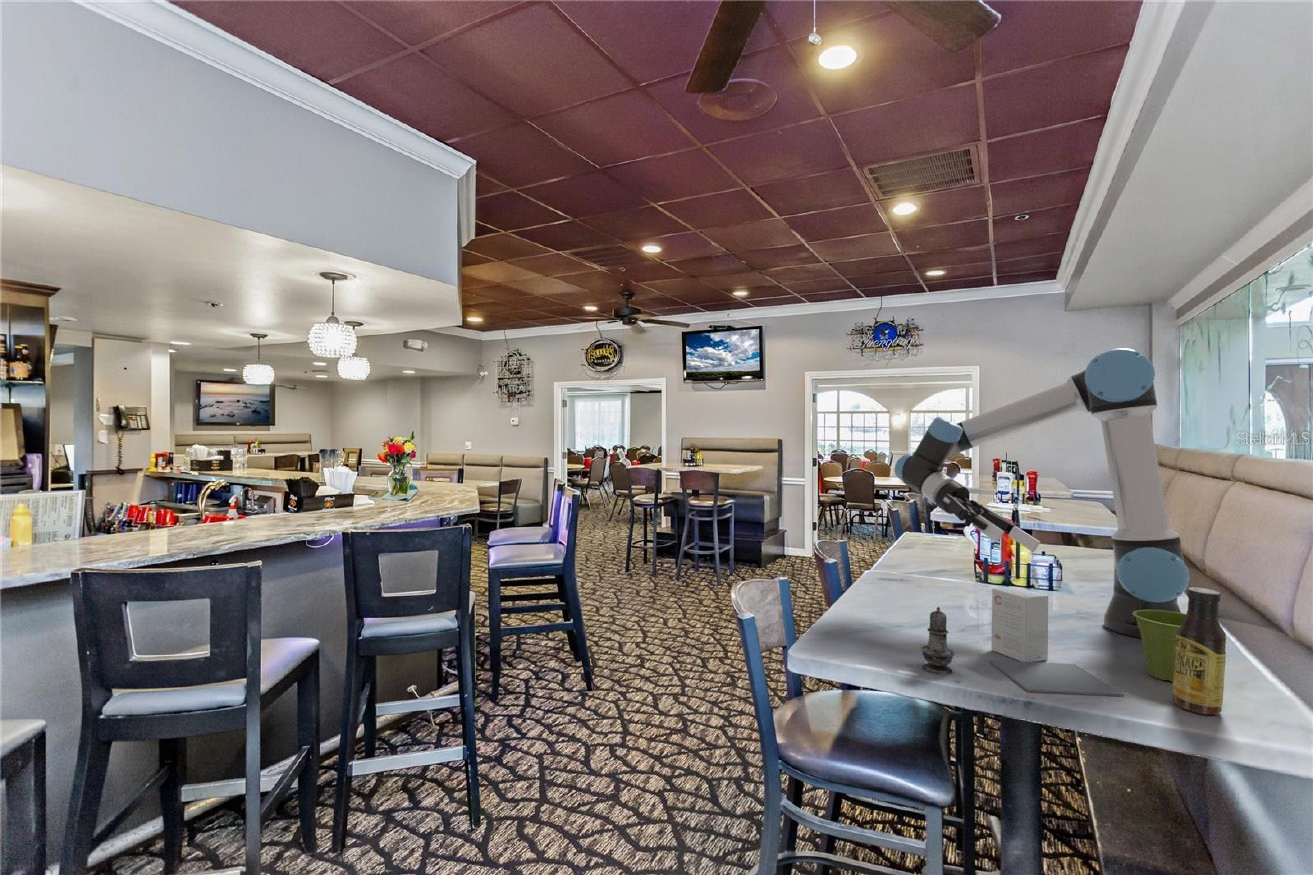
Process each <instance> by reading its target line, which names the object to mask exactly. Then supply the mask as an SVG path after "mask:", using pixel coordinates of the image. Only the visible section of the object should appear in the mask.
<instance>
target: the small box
mask: <svg viewBox="0 0 1313 875" xmlns="http://www.w3.org/2000/svg"><path fill="white" fill-rule="evenodd" d="M991 595H992V596H991V598H992V599H991V645H990V646H991V651H994V652H995V653H999V654H1001V655H1003V656H1006V657H1009V658H1011V659H1014V660H1017V661H1018V662H1042V661H1047V660H1048V659H1049V657H1048V656H1049V653H1048V652H1049V595H1048V594H1047V595H1046V594H1042V593H1038V592H1034V591H1032V590H1027V589H1024V588H1020V587H1016V586H1007V587H995V588H992V594H991Z"/></svg>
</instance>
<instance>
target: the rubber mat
mask: <svg viewBox="0 0 1313 875" xmlns="http://www.w3.org/2000/svg"><path fill="white" fill-rule="evenodd" d="M989 663H990V664H992V666H994V667H996V668H997V669H998V670H999V671H1000V672H1001V673H1003V674H1004V675H1005V676H1006V677H1008V678H1009V679H1010V680H1012V681H1013V682H1015V683H1016V684H1017V685H1018V686H1020V688H1022V689H1023V690H1024V691H1026V692H1027V693H1042V694H1044V693H1045V694H1047V693H1048V694H1065V695H1067V694H1068V695H1086V696H1087V695H1088V696H1089V695H1091V696H1108V697H1110V696H1112V697H1125V693H1123V692H1122V691H1120V690H1119V689H1117V688H1115V687H1113V686H1111V685H1110V684H1109V683H1107V682H1105V681H1104V680H1102V679H1100V678H1098V677H1097V676H1096V675H1094V674H1092V673H1090V672H1089V671H1087V670H1085V669H1084V668H1083V667H1081V666H1079V665H1077V664H1075V663H1063V662H1059V663H1058V662H1042V661H1037V662H1021V661H1019V660H1017V661H1013V660H992V659H991V660H989Z"/></svg>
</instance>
